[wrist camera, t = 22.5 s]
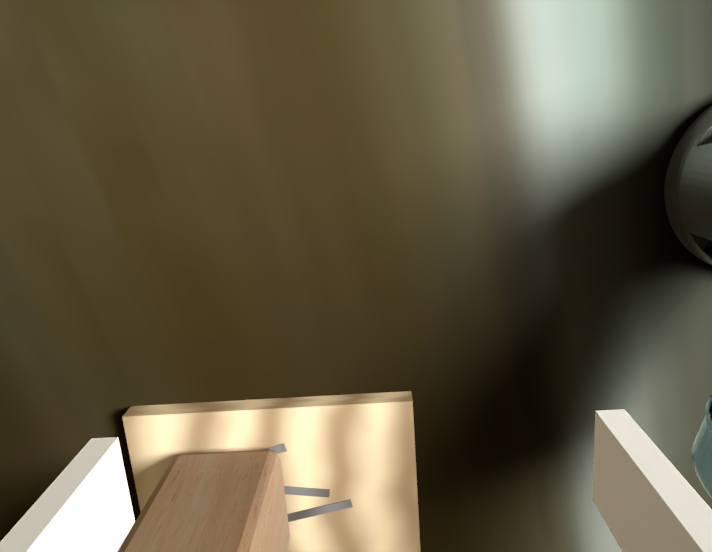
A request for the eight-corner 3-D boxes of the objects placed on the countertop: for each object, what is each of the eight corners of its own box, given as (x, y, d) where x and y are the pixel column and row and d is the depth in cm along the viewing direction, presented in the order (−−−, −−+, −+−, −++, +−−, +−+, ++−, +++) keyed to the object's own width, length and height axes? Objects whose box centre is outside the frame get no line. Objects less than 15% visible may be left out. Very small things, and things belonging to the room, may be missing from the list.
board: (411, 390, 53) (412, 401, 51) (418, 540, 57) (420, 555, 55) (130, 406, 54) (121, 417, 52) (158, 551, 59) (150, 567, 56)
